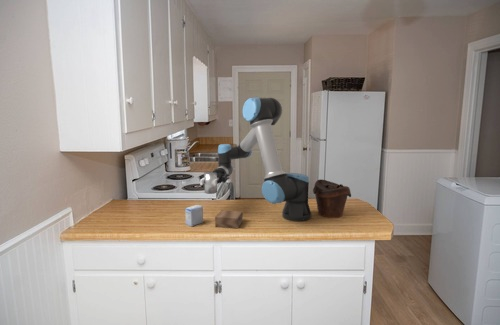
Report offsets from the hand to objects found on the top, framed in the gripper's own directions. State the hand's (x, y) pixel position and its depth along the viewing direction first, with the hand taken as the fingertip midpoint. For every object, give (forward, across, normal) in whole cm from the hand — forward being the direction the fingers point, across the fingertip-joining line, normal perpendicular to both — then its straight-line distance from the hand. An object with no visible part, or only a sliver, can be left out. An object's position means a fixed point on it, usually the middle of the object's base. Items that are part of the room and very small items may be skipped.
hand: (207, 182), depth 172 cm
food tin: (-5, 0, -6) cm, 8 cm away
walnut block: (+2, -11, -20) cm, 23 cm away
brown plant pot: (-24, -61, -20) cm, 69 cm away
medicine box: (+5, +6, -20) cm, 22 cm away
